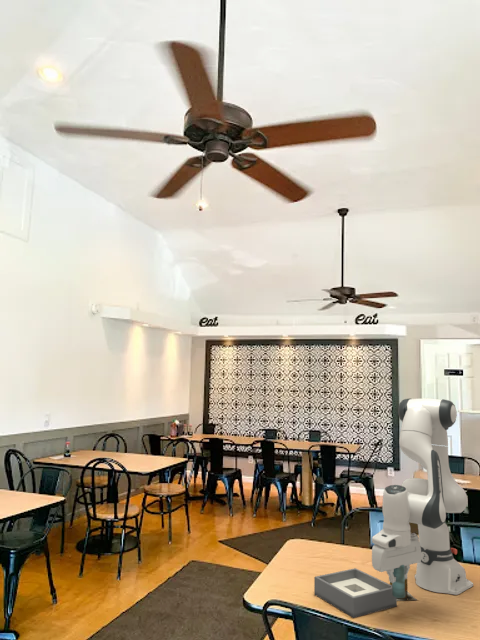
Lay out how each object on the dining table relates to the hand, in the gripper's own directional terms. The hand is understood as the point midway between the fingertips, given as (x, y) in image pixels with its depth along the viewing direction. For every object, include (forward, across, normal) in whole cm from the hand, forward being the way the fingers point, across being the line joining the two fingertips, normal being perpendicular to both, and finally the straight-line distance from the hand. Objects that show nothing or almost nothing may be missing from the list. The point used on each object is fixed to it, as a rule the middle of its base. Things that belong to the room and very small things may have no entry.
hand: (398, 580), depth 156 cm
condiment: (+12, -13, -11) cm, 21 cm away
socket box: (+11, +5, -16) cm, 20 cm away
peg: (+5, 0, 0) cm, 5 cm away
